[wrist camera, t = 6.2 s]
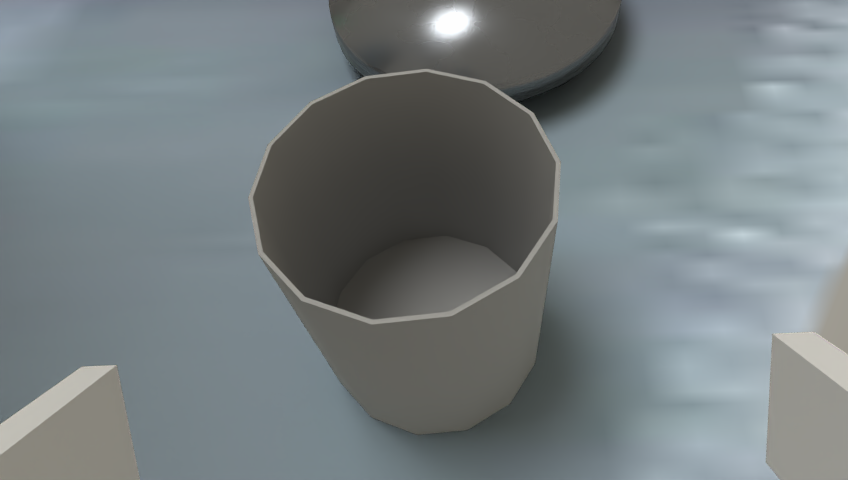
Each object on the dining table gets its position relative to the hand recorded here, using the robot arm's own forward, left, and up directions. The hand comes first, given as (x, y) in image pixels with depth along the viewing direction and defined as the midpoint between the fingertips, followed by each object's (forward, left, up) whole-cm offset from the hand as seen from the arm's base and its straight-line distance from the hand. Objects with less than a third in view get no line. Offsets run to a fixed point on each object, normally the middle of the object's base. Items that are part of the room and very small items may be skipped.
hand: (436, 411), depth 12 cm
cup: (+6, +2, -11) cm, 13 cm away
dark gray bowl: (+24, +4, -11) cm, 27 cm away
